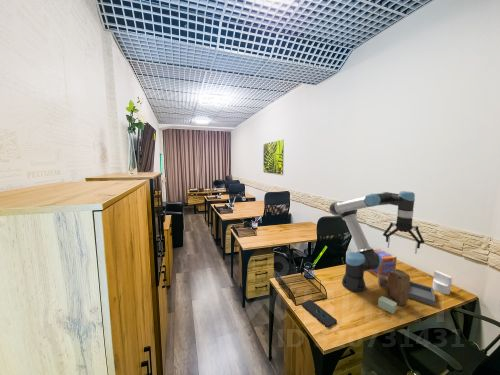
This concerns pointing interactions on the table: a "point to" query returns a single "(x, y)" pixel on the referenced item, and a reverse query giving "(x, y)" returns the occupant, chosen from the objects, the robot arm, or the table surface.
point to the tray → (421, 293)
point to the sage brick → (387, 304)
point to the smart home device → (319, 313)
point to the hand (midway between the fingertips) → (401, 249)
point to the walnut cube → (383, 281)
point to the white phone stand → (442, 282)
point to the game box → (384, 264)
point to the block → (398, 286)
